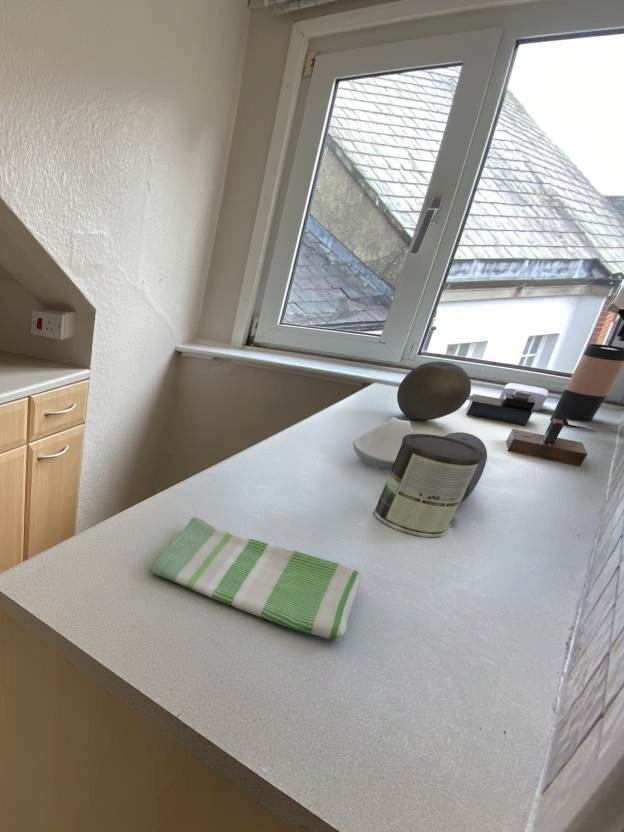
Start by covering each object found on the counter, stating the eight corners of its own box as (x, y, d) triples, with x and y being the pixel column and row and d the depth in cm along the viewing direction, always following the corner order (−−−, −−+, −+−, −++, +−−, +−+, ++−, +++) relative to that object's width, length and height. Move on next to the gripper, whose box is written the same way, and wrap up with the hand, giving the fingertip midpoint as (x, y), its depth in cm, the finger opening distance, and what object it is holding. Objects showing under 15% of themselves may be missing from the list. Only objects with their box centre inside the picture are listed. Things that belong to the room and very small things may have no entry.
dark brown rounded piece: (385, 419, 141) (407, 362, 134) (392, 407, 151) (413, 353, 144) (453, 434, 133) (480, 373, 126) (456, 420, 142) (481, 363, 136)
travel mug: (543, 416, 148) (582, 342, 139) (580, 421, 145) (622, 346, 136) (555, 425, 142) (596, 348, 133) (594, 430, 139) (639, 352, 130)
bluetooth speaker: (419, 469, 113) (439, 423, 108) (476, 484, 107) (499, 437, 103) (393, 503, 98) (415, 453, 94) (458, 524, 93) (484, 470, 88)
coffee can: (358, 508, 96) (388, 433, 90) (408, 505, 98) (440, 432, 92) (408, 540, 87) (445, 459, 81) (462, 536, 89) (502, 457, 83)
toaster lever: (526, 399, 142) (530, 391, 142) (526, 401, 140) (530, 394, 140) (512, 396, 144) (515, 389, 143) (512, 399, 142) (516, 391, 141)
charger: (542, 401, 162) (539, 411, 152) (502, 393, 167) (496, 403, 158) (550, 385, 160) (548, 395, 150) (509, 378, 165) (504, 387, 156)
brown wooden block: (575, 454, 124) (582, 441, 122) (580, 466, 117) (588, 453, 116) (506, 440, 130) (512, 428, 129) (507, 451, 124) (514, 438, 123)
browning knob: (542, 436, 124) (553, 417, 122) (552, 438, 124) (563, 419, 121) (543, 442, 121) (554, 422, 119) (553, 444, 120) (564, 424, 118)
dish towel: (191, 525, 89) (195, 511, 87) (358, 584, 76) (365, 567, 75) (147, 575, 76) (151, 559, 75) (339, 655, 63) (347, 637, 62)
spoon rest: (411, 483, 107) (426, 449, 103) (343, 465, 113) (354, 433, 110) (421, 449, 123) (434, 419, 120) (361, 435, 130) (372, 406, 126)
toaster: (523, 418, 146) (534, 396, 144) (525, 426, 140) (536, 404, 137) (466, 407, 153) (476, 386, 150) (466, 415, 147) (475, 393, 144)
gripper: (718, 257, 117) (667, 343, 125) (619, 252, 125) (577, 333, 133) (729, 258, 111) (675, 348, 120) (625, 253, 120) (581, 337, 128)
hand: (623, 340), depth 126 cm, fingers closed
